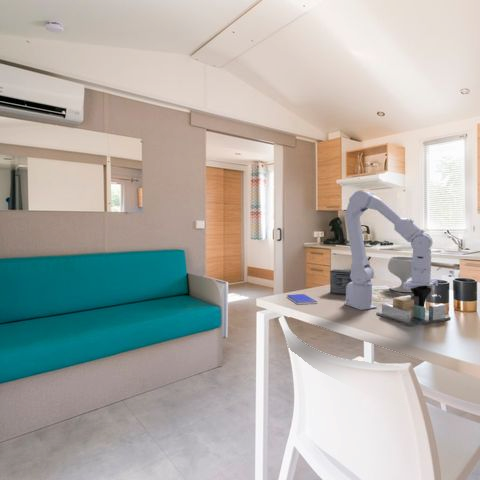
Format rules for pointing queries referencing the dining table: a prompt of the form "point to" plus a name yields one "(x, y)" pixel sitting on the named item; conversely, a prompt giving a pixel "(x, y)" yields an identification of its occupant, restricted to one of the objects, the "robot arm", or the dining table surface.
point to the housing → (404, 304)
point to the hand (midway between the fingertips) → (419, 307)
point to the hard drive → (301, 299)
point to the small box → (339, 281)
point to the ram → (418, 308)
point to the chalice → (401, 271)
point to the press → (404, 317)
